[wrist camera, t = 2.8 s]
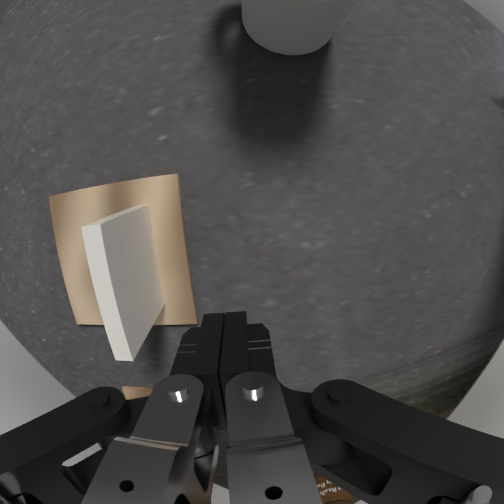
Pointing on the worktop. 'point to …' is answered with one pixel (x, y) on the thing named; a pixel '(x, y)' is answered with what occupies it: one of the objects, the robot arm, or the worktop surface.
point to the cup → (293, 23)
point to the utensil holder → (331, 492)
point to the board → (165, 238)
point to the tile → (125, 277)
